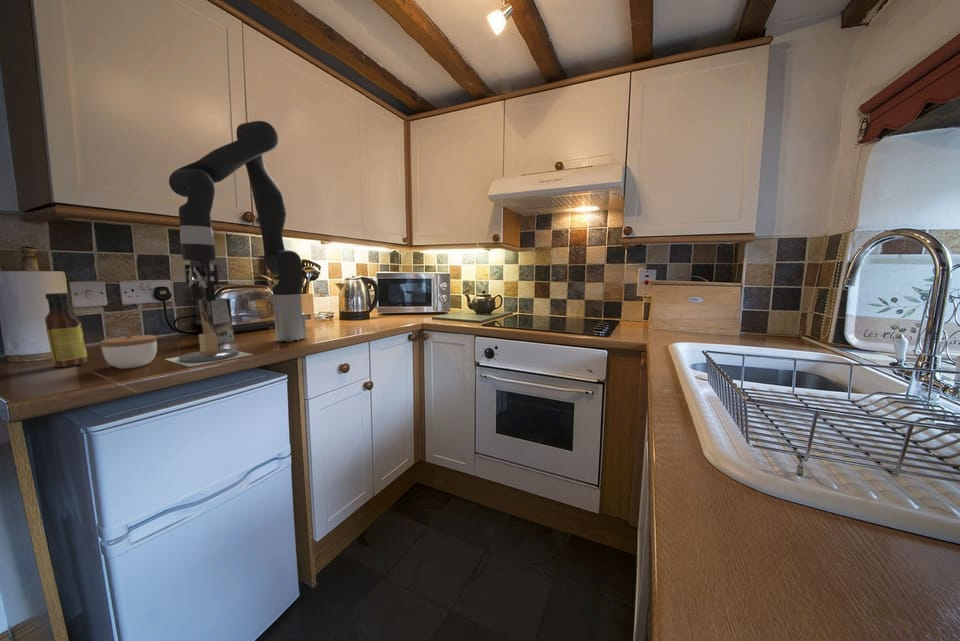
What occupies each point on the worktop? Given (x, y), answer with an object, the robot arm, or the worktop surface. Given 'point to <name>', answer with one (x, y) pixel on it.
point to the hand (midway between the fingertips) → (203, 300)
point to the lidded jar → (129, 350)
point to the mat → (176, 360)
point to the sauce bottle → (64, 332)
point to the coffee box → (217, 319)
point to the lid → (208, 351)
